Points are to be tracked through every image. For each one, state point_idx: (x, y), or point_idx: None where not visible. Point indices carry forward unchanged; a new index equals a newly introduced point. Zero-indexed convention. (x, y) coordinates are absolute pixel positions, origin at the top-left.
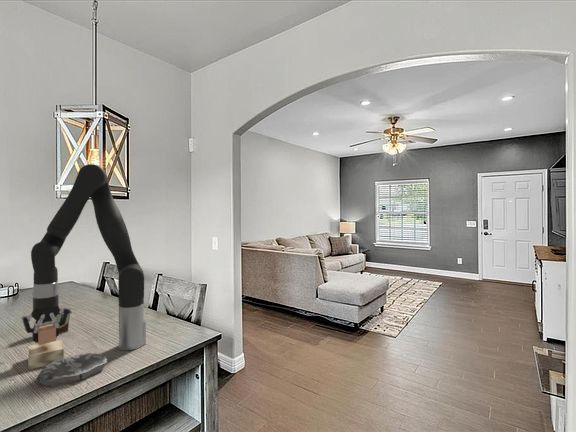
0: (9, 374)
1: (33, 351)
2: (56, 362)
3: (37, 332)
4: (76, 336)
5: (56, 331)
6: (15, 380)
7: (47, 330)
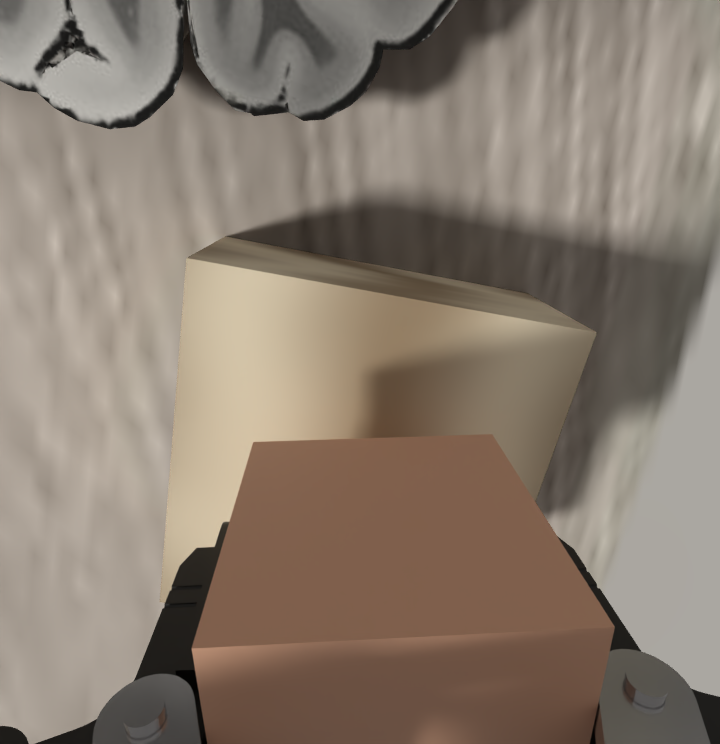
0: (664, 313)
1: (506, 452)
2: (329, 5)
3: None
4: (51, 730)
5: (203, 608)
6: (683, 117)
7: (406, 615)
